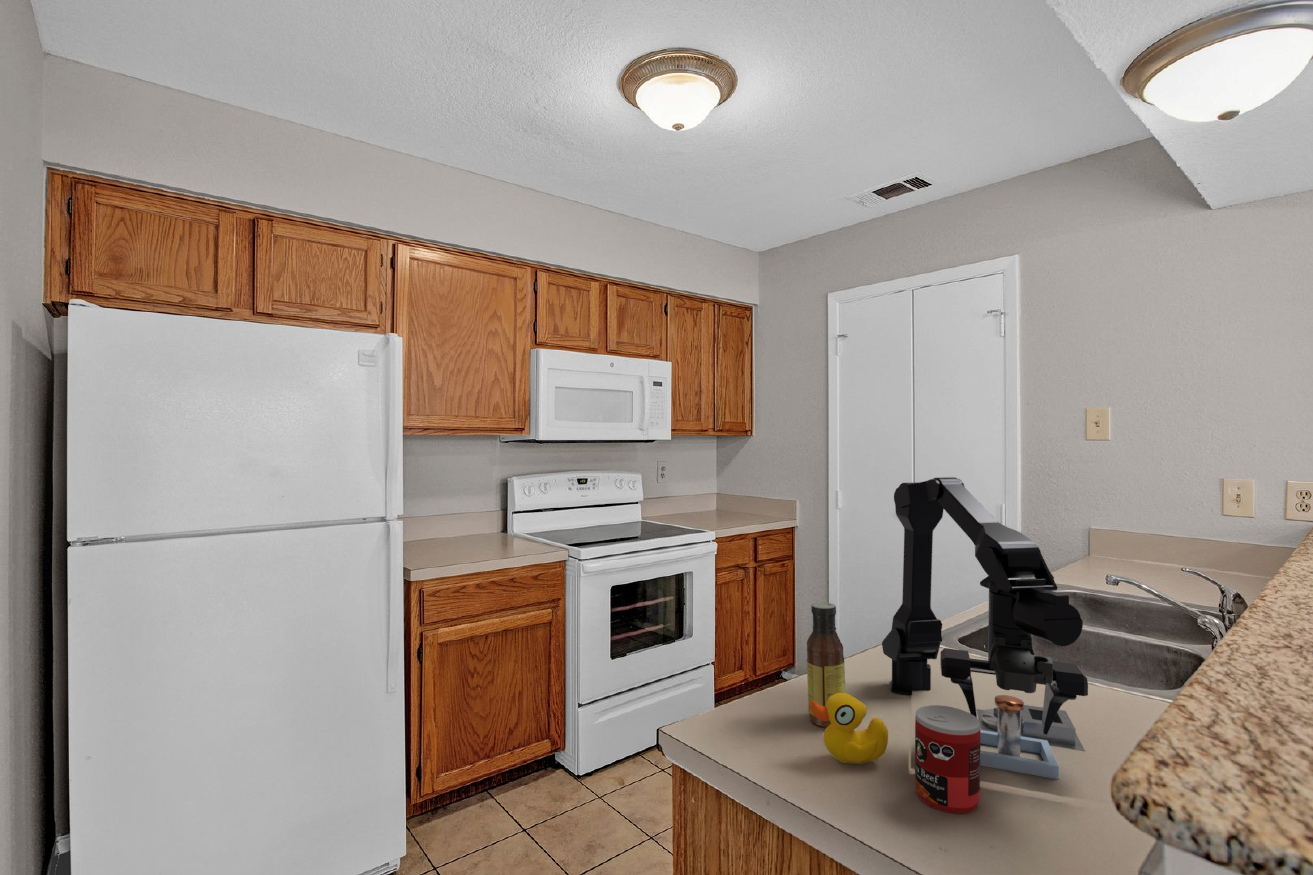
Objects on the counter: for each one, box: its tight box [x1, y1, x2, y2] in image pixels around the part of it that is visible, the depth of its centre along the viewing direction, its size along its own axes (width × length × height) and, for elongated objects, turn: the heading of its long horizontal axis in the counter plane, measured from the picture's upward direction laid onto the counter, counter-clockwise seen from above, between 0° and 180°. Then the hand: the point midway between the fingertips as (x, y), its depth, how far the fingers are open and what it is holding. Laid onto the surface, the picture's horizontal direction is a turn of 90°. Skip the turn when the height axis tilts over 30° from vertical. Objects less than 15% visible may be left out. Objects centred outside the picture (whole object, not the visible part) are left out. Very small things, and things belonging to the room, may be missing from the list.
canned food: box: [914, 704, 981, 814], centre depth 86 cm, size 8×8×11 cm
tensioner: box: [976, 704, 1086, 752], centre depth 104 cm, size 14×10×3 cm
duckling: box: [810, 692, 889, 765], centre depth 95 cm, size 11×5×10 cm, turn 85°
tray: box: [980, 729, 1060, 780], centre depth 95 cm, size 11×8×2 cm
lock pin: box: [994, 694, 1025, 757], centre depth 95 cm, size 4×4×9 cm
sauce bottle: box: [806, 601, 847, 729], centre depth 108 cm, size 7×6×20 cm
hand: (1009, 727), depth 95 cm, fingers open, 9 cm apart
